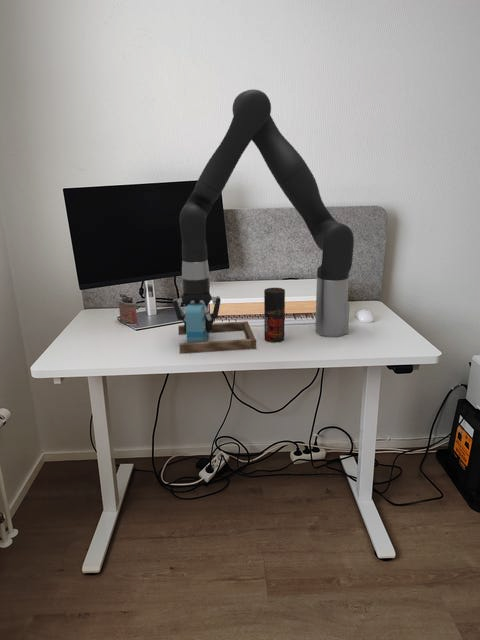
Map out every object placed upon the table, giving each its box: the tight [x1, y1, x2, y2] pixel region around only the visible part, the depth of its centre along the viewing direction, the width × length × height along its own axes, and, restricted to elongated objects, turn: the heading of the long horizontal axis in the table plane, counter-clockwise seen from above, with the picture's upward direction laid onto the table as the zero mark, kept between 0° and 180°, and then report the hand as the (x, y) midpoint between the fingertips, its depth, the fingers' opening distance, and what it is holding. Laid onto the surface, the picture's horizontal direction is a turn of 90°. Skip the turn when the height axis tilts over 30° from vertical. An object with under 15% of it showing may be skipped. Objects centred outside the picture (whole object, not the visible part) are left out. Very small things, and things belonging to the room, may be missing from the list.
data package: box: [184, 303, 210, 343], centre depth 149 cm, size 12×4×12 cm, turn 174°
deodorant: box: [263, 287, 286, 344], centre depth 150 cm, size 6×6×15 cm
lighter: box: [117, 292, 139, 326], centre depth 167 cm, size 8×3×10 cm, turn 47°
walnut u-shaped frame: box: [177, 320, 257, 355], centre depth 151 cm, size 22×17×2 cm
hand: (198, 332), depth 150 cm, fingers closed on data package, 5 cm apart
